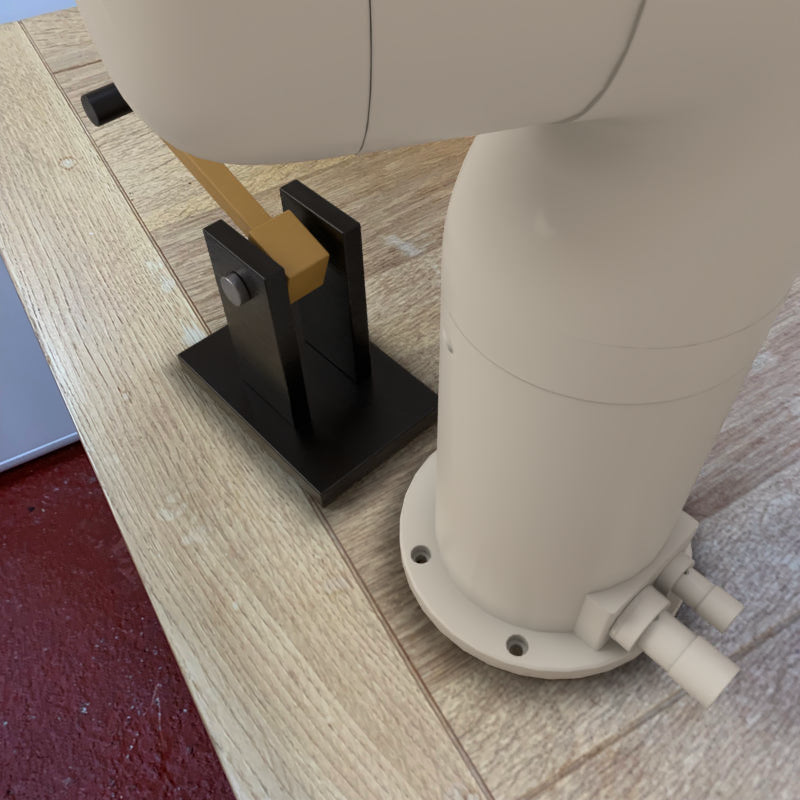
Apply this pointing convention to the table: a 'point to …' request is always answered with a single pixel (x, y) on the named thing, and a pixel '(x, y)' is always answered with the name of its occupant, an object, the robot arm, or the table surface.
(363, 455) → the bracket
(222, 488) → the table surface
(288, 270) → the lever
